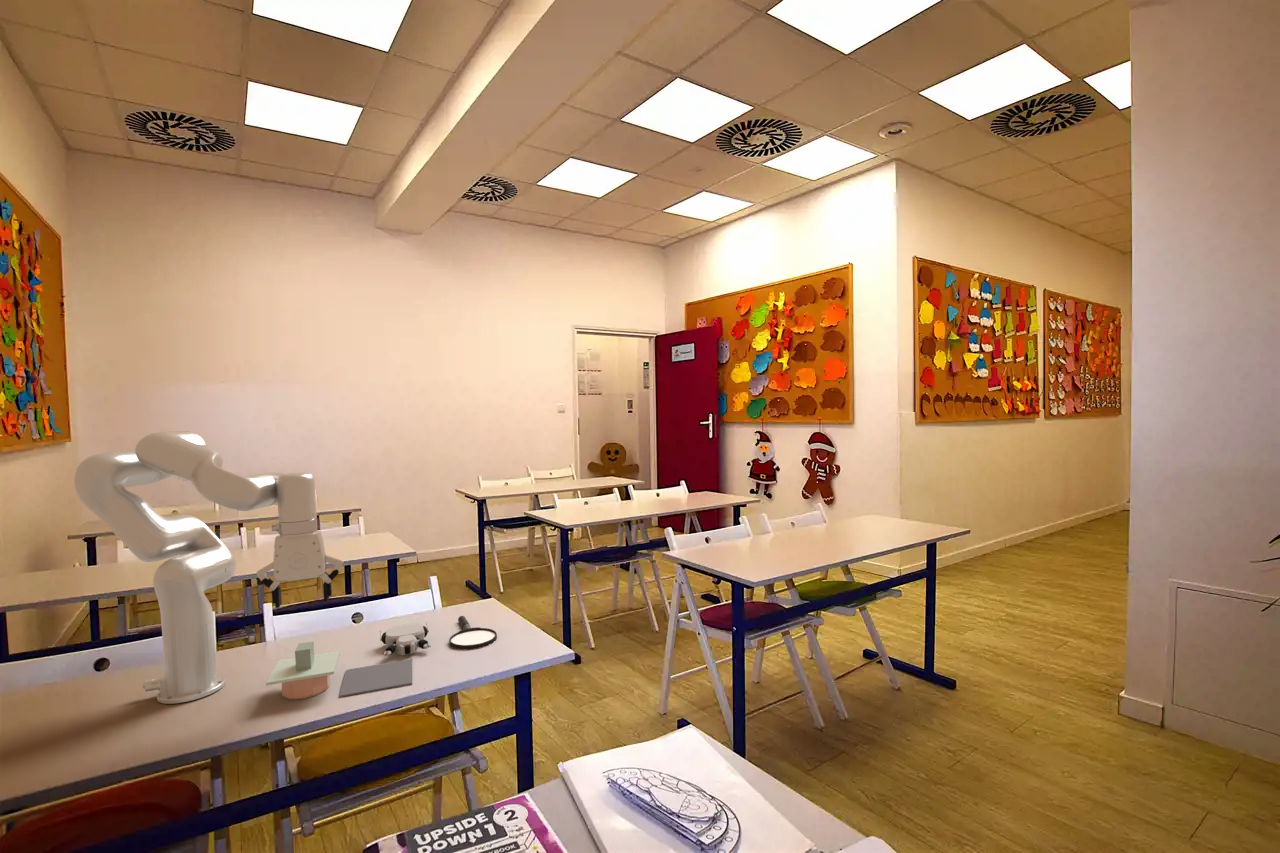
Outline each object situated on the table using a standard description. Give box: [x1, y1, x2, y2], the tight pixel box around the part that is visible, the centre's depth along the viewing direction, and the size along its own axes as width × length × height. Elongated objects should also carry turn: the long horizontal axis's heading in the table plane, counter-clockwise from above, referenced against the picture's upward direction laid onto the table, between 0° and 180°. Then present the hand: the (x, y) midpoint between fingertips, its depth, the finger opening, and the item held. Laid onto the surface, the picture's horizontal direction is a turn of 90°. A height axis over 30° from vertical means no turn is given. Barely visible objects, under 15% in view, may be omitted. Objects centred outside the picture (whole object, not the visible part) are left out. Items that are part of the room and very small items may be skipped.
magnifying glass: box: [448, 615, 498, 650], centre depth 171 cm, size 12×24×2 cm, turn 26°
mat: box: [339, 658, 413, 698], centre depth 144 cm, size 15×15×1 cm
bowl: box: [281, 675, 331, 700], centre depth 139 cm, size 9×9×5 cm
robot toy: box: [379, 622, 431, 656], centre depth 162 cm, size 12×4×15 cm
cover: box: [265, 640, 341, 686], centre depth 139 cm, size 13×13×5 cm
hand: (303, 602), depth 138 cm, fingers open, 9 cm apart
